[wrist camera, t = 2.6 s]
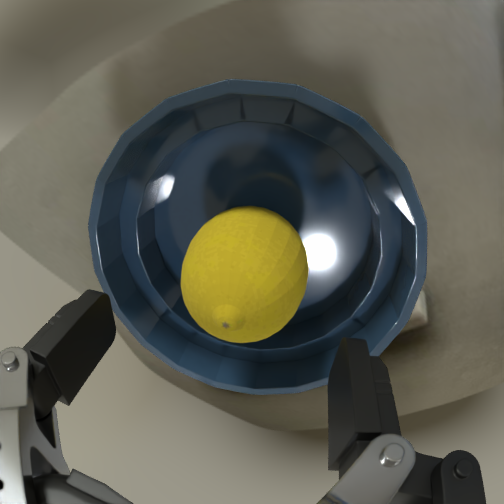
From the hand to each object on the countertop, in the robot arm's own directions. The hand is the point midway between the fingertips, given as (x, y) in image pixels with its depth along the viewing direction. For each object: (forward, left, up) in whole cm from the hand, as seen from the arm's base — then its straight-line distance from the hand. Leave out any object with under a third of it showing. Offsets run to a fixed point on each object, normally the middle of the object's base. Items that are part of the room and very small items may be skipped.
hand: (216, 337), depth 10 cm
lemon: (0, 0, -9) cm, 9 cm away
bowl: (0, 0, -9) cm, 9 cm away
